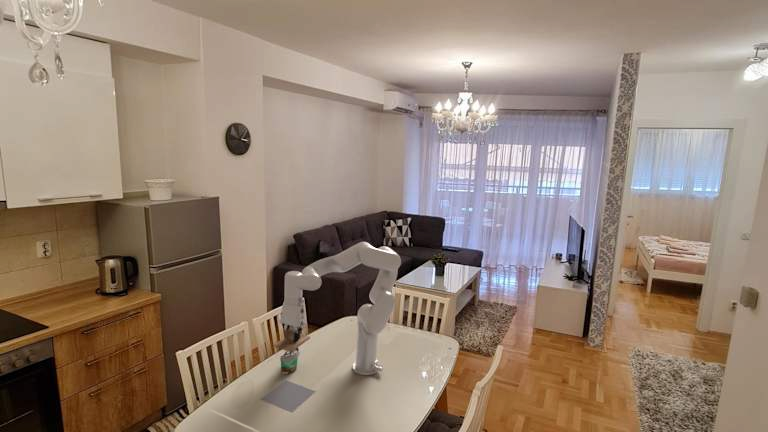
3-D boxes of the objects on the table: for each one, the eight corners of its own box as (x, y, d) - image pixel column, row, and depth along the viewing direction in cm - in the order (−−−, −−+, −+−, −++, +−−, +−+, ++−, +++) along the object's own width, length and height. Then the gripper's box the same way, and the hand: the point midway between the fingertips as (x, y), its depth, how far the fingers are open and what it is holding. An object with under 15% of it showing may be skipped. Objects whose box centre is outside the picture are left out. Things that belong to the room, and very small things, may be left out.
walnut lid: (309, 338, 184) (310, 326, 183) (291, 352, 171) (291, 338, 170) (293, 333, 187) (293, 321, 186) (273, 346, 174) (273, 333, 173)
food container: (292, 379, 181) (293, 358, 180) (279, 376, 183) (280, 356, 181) (303, 365, 193) (304, 345, 192) (291, 363, 194) (291, 343, 193)
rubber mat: (315, 392, 173) (315, 391, 173) (291, 413, 159) (292, 412, 159) (285, 381, 180) (285, 380, 179) (260, 400, 165) (260, 399, 165)
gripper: (314, 301, 176) (313, 340, 179) (282, 293, 182) (282, 331, 185) (304, 307, 169) (303, 347, 172) (272, 298, 175) (271, 338, 179)
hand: (292, 338), depth 179 cm, fingers closed on walnut lid, 4 cm apart
